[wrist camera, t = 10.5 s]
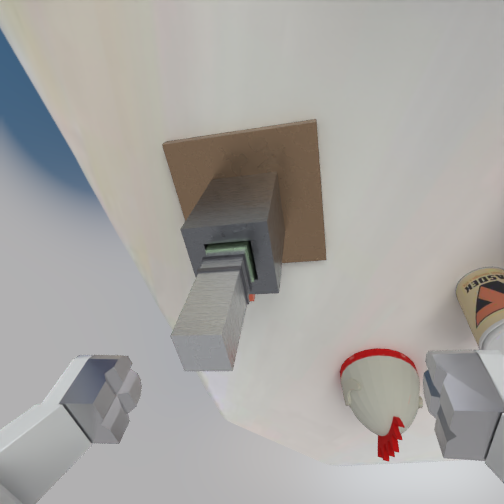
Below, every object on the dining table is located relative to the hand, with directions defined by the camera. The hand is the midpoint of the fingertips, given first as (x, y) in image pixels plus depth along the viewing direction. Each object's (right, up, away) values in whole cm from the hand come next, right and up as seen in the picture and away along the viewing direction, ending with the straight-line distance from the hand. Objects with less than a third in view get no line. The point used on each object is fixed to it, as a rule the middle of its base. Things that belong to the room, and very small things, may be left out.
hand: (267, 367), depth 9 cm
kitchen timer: (+24, -20, +57) cm, 64 cm away
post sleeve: (-1, +10, +40) cm, 42 cm away
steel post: (-2, +6, +34) cm, 34 cm away
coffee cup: (+35, -2, +43) cm, 55 cm away
